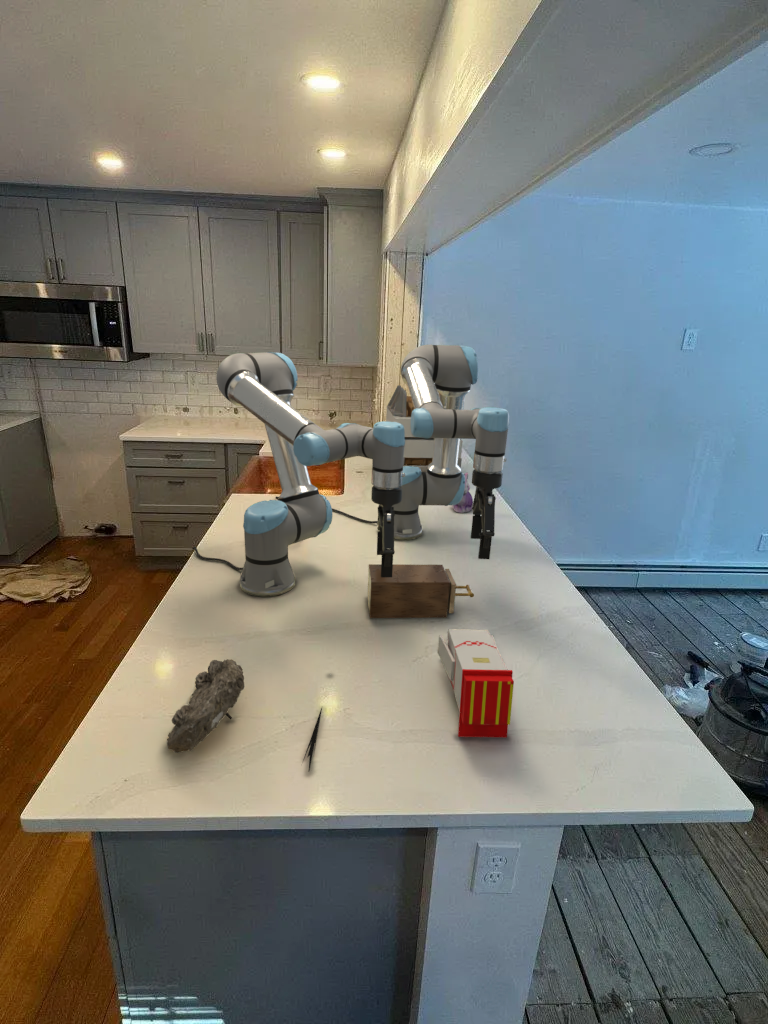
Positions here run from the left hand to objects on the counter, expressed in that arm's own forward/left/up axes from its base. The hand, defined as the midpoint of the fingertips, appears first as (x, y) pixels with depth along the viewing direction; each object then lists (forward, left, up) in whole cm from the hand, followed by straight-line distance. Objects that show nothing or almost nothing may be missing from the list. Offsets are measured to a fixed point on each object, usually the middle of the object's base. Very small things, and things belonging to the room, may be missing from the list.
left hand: (384, 565), depth 146 cm
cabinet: (+6, +2, -13) cm, 14 cm away
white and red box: (+27, -28, -13) cm, 40 cm away
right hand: (+23, +12, +4) cm, 26 cm away
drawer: (+11, +4, -12) cm, 16 cm away
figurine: (+10, +87, -13) cm, 89 cm away
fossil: (-20, -51, -13) cm, 56 cm away
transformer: (-17, +133, -13) cm, 134 cm away
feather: (0, -45, -13) cm, 47 cm away
